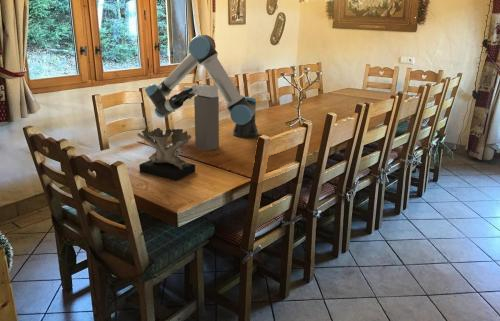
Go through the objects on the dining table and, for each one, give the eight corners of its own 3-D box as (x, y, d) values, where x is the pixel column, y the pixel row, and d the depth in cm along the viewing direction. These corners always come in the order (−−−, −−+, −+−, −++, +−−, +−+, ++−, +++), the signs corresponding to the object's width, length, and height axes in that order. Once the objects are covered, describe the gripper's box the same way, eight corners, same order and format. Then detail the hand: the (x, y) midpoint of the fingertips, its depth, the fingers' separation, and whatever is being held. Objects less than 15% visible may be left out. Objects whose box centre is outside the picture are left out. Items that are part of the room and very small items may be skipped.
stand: (195, 147, 224) (194, 96, 214) (207, 144, 230) (206, 94, 221) (207, 151, 218) (206, 99, 209) (218, 147, 225) (218, 96, 216)
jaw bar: (182, 92, 222) (181, 83, 221) (188, 91, 226) (188, 82, 224) (211, 97, 209) (211, 87, 208) (218, 96, 213) (218, 86, 211)
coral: (201, 173, 187) (200, 128, 180) (171, 188, 171) (169, 138, 164) (160, 163, 200) (158, 120, 193) (128, 175, 183) (125, 129, 176)
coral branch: (173, 166, 206) (165, 155, 198) (165, 156, 211) (157, 145, 202) (187, 156, 208) (181, 144, 200) (179, 146, 212) (172, 134, 204)
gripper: (187, 106, 238) (212, 91, 222) (165, 111, 226) (190, 94, 211) (182, 94, 238) (207, 78, 222) (160, 98, 226) (185, 81, 211)
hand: (199, 86), depth 217 cm, fingers closed on jaw bar, 3 cm apart
